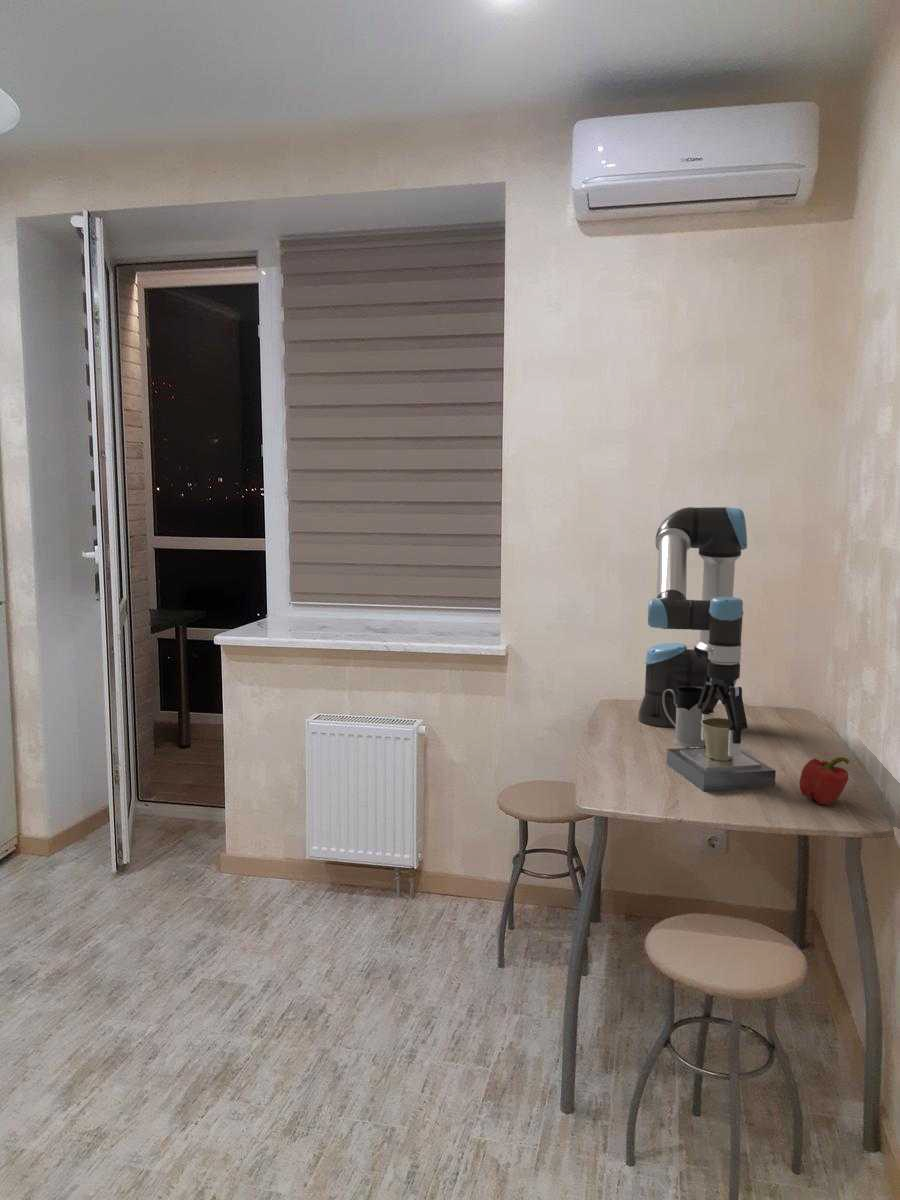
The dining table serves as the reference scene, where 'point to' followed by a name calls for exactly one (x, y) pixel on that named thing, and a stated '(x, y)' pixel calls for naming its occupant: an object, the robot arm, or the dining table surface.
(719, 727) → the flower pot
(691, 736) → the grey pitcher
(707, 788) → the gray square platform
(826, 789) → the vegetable
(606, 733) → the dining table surface
